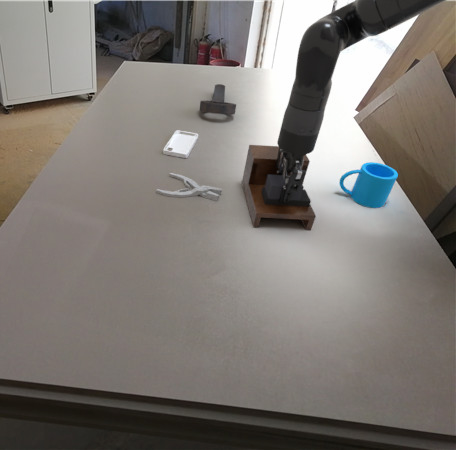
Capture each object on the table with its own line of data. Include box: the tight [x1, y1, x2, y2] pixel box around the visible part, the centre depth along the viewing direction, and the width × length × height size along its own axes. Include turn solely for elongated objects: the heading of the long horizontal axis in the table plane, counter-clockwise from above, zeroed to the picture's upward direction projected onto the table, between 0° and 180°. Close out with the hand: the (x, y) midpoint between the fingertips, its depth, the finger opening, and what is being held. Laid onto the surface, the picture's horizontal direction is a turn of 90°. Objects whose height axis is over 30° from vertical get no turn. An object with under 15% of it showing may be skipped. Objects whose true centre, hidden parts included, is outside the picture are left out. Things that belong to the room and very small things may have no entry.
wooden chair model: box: [241, 144, 316, 231], centre depth 95 cm, size 13×19×11 cm
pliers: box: [156, 172, 223, 202], centre depth 101 cm, size 10×2×15 cm
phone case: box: [162, 129, 199, 159], centre depth 121 cm, size 7×1×15 cm
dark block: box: [261, 174, 312, 207], centre depth 92 cm, size 10×5×5 cm, turn 88°
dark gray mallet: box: [199, 83, 237, 115], centre depth 146 cm, size 12×8×30 cm
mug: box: [338, 162, 399, 209], centre depth 100 cm, size 12×8×8 cm
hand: (281, 195), depth 92 cm, fingers closed on dark block, 5 cm apart
